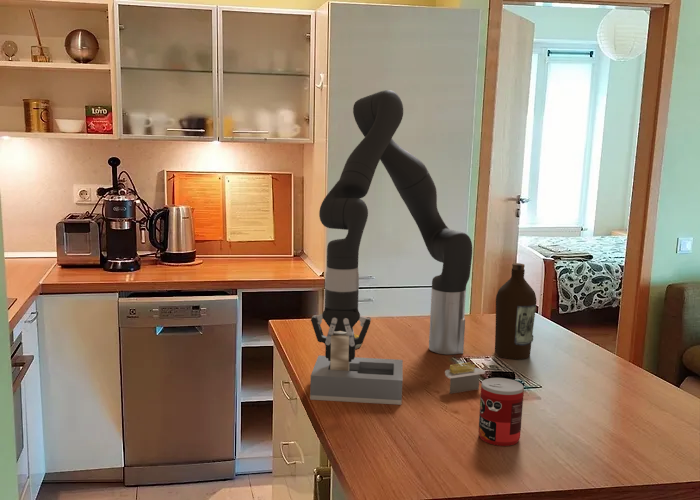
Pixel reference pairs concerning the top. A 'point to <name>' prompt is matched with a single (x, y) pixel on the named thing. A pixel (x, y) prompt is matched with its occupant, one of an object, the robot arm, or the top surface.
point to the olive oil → (515, 316)
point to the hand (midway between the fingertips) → (340, 360)
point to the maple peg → (339, 351)
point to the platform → (463, 377)
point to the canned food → (500, 411)
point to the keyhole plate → (358, 381)
